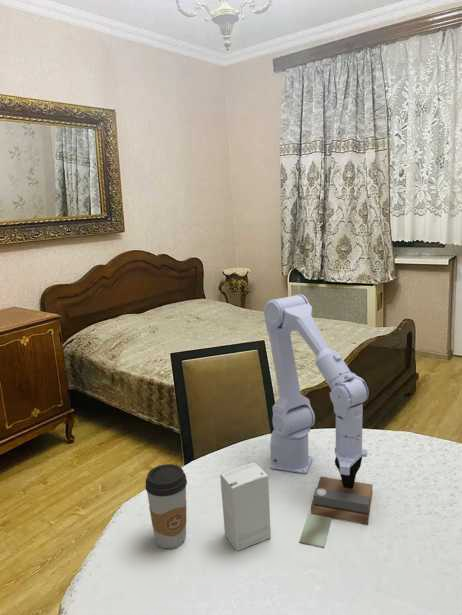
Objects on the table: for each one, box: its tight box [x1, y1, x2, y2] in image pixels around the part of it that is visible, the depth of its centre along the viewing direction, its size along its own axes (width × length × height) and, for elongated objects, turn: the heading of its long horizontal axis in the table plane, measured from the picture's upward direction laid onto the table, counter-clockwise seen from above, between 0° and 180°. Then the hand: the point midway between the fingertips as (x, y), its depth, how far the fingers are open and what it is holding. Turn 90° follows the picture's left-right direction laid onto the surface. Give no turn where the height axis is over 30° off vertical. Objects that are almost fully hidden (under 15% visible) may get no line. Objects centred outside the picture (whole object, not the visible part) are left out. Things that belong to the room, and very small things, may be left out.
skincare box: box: [219, 461, 272, 551], centre depth 99 cm, size 8×6×15 cm
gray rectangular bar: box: [312, 487, 369, 513], centre depth 106 cm, size 12×3×2 cm, turn 70°
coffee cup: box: [144, 463, 188, 549], centre depth 100 cm, size 8×8×15 cm
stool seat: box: [298, 476, 373, 549], centre depth 106 cm, size 12×22×2 cm, turn 160°
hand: (348, 486), depth 111 cm, fingers closed
